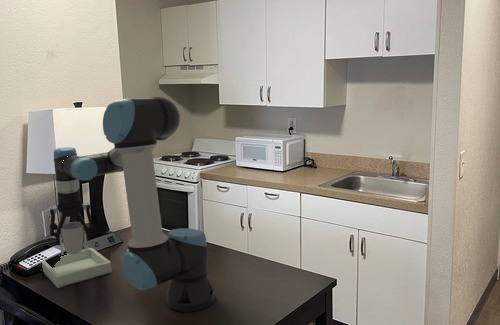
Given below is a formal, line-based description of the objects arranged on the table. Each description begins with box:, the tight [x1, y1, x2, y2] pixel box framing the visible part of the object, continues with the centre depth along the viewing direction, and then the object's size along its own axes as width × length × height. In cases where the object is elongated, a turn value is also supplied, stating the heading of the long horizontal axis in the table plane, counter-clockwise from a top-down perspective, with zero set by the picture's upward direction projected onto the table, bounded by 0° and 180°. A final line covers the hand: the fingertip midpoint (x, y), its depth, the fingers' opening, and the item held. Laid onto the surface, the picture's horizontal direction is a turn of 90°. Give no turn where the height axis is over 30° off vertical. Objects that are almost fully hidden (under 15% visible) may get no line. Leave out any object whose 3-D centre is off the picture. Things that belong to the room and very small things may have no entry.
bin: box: [40, 247, 113, 289], centre depth 169 cm, size 19×19×4 cm
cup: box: [60, 221, 85, 254], centre depth 167 cm, size 8×8×10 cm
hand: (74, 250), depth 168 cm, fingers closed on cup, 8 cm apart
